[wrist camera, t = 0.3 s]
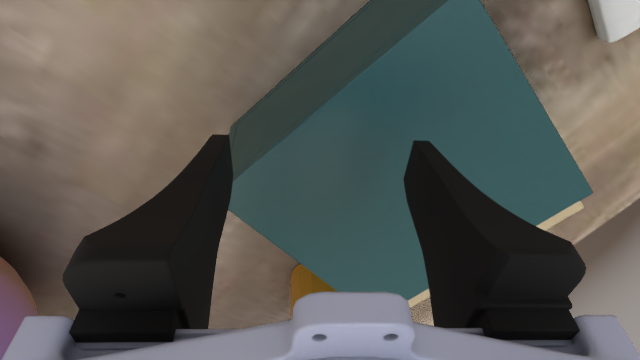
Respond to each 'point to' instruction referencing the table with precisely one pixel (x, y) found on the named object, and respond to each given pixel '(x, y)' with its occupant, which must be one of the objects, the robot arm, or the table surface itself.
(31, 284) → the table surface
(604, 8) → the hard drive
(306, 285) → the cup
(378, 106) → the cabinet
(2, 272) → the ball
